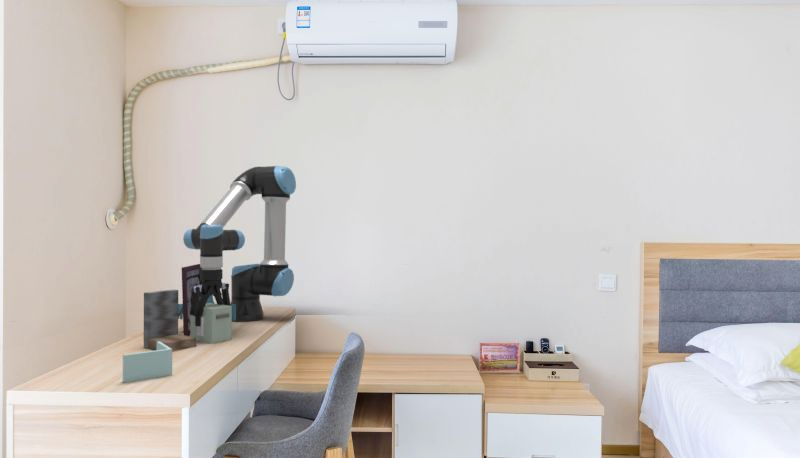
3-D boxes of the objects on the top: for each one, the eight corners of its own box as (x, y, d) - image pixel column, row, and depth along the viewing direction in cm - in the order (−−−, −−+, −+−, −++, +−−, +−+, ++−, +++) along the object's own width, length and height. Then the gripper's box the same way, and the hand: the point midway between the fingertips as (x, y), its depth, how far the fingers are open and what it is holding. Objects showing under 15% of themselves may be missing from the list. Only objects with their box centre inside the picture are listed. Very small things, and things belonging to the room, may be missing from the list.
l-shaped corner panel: (159, 367, 159) (159, 341, 159) (172, 376, 149) (172, 349, 149) (113, 374, 151) (113, 346, 151) (123, 384, 142) (123, 355, 142)
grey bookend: (173, 341, 190) (174, 289, 190) (196, 346, 183) (196, 292, 183) (143, 347, 181) (143, 292, 181) (166, 353, 174) (166, 296, 174)
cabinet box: (209, 335, 201) (209, 302, 200) (232, 340, 194) (233, 306, 193) (190, 339, 194) (190, 305, 194) (213, 344, 187) (213, 309, 187)
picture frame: (186, 337, 198) (187, 267, 197) (159, 336, 198) (159, 267, 198) (204, 328, 214) (204, 263, 214) (179, 327, 215) (179, 263, 214)
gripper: (228, 266, 204) (228, 327, 205) (178, 269, 187) (177, 336, 187) (242, 267, 200) (241, 329, 201) (192, 271, 183) (191, 339, 183)
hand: (210, 333), depth 194 cm, fingers closed on cabinet box, 8 cm apart
